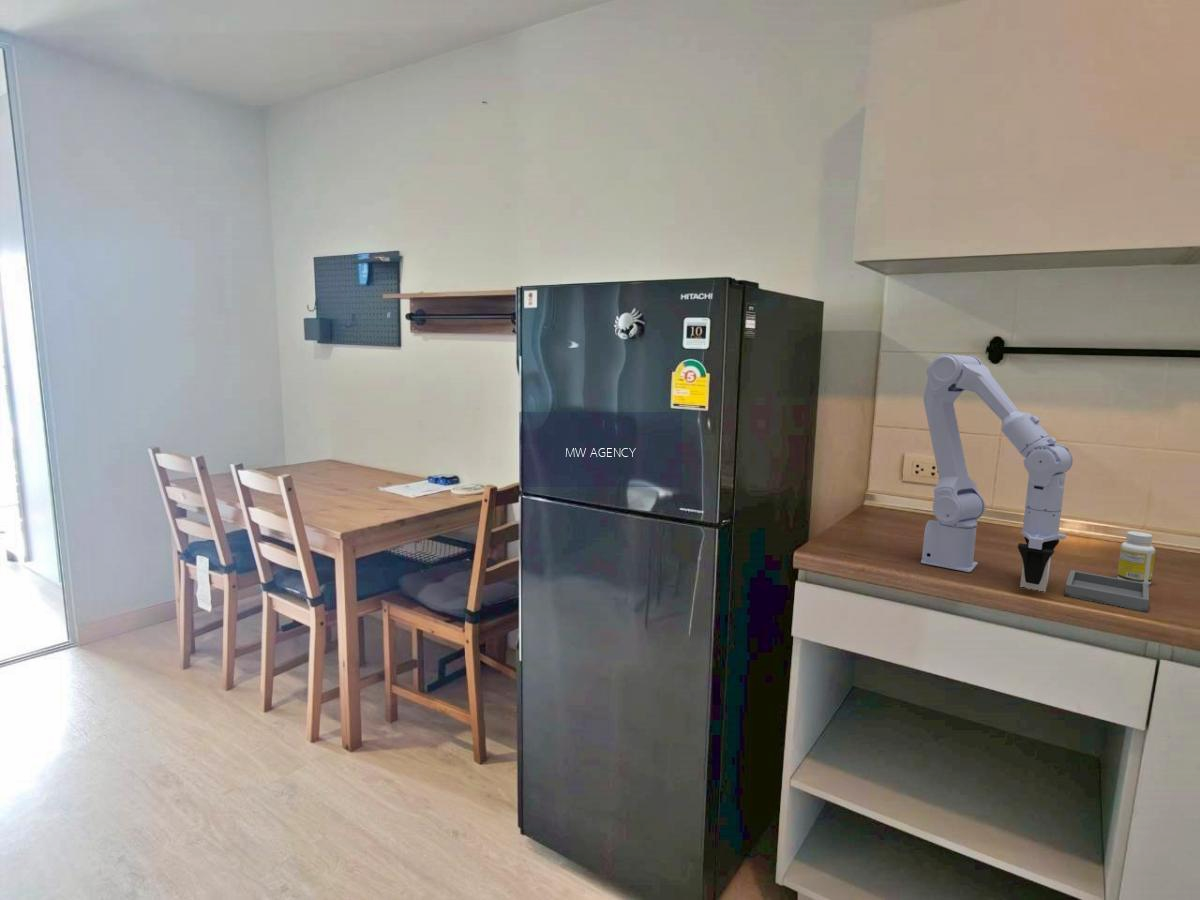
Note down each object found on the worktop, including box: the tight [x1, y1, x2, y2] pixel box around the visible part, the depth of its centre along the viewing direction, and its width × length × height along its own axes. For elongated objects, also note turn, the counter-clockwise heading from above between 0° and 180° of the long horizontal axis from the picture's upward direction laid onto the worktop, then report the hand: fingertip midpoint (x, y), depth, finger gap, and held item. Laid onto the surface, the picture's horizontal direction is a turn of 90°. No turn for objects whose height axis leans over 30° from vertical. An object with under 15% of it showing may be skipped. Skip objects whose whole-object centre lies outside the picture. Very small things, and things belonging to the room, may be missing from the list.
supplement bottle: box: [1116, 530, 1156, 586], centre depth 135 cm, size 5×5×10 cm
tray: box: [1063, 569, 1150, 613], centre depth 126 cm, size 12×12×2 cm
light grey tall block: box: [1019, 556, 1052, 593], centre depth 129 cm, size 4×4×7 cm
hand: (1034, 578), depth 129 cm, fingers open, 7 cm apart
